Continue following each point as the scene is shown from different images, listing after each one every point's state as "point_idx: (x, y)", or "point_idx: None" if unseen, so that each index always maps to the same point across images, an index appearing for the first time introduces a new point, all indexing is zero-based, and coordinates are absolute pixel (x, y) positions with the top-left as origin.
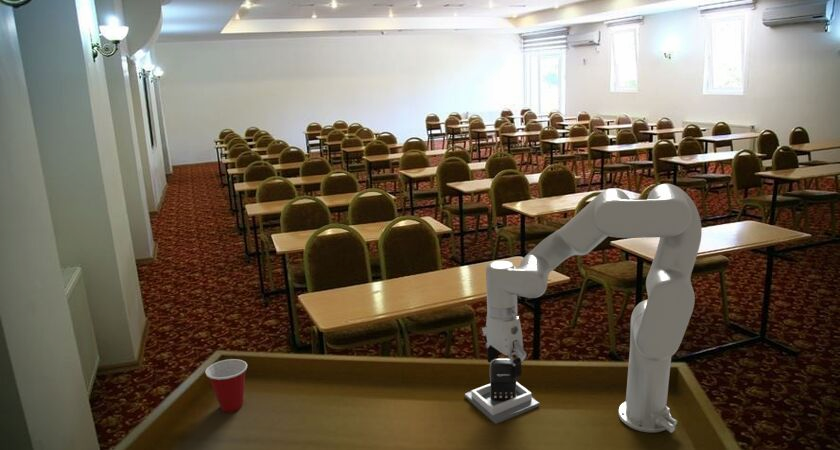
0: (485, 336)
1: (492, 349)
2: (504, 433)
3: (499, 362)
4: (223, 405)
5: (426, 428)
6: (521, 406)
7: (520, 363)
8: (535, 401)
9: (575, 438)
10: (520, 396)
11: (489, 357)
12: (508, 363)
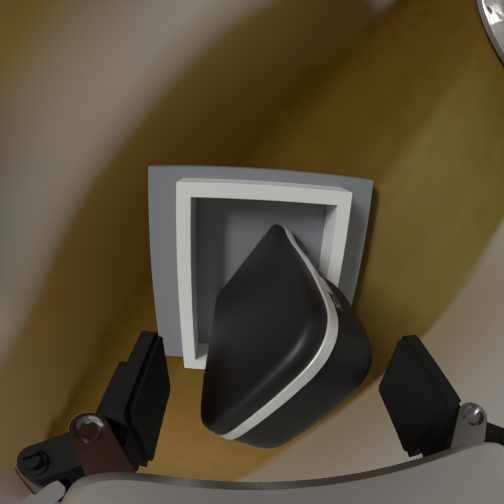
0: (57, 501)
1: (146, 444)
2: (375, 350)
3: (281, 433)
4: None
5: (234, 449)
6: (346, 251)
7: (452, 395)
8: (359, 185)
9: (497, 216)
10: (338, 250)
11: (162, 415)
12: (336, 402)
